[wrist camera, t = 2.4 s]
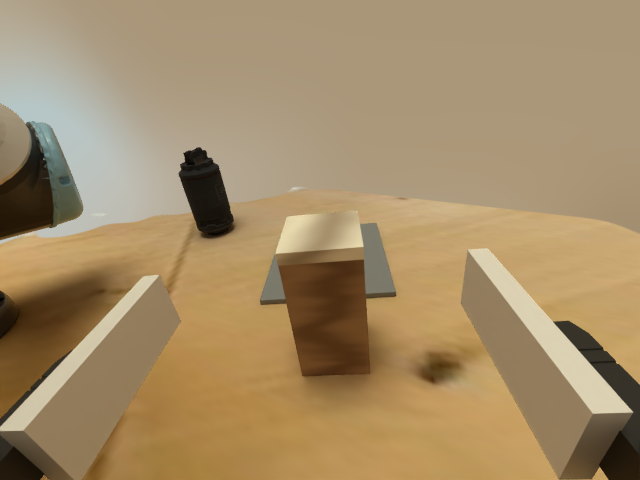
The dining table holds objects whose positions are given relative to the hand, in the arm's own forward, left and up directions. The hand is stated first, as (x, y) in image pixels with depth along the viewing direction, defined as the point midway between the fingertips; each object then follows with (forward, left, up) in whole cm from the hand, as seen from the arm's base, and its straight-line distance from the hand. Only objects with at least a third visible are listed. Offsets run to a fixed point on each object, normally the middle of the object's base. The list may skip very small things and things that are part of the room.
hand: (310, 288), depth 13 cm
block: (0, +10, -15) cm, 18 cm away
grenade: (-22, +39, -15) cm, 47 cm away
